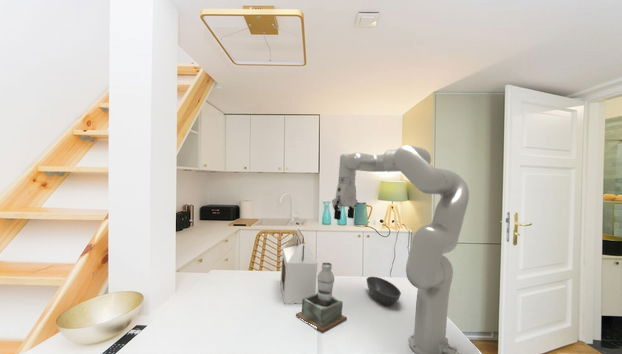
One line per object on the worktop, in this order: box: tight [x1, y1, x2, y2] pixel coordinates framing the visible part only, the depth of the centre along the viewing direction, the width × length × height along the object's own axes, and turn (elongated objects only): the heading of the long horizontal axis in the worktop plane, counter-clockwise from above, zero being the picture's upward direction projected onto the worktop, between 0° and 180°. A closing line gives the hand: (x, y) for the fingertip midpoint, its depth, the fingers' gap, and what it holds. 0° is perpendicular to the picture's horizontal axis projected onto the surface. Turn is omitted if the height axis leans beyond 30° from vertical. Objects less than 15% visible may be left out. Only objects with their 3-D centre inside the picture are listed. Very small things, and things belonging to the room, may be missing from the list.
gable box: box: [280, 229, 319, 305], centre depth 124 cm, size 22×13×28 cm, turn 11°
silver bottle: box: [316, 262, 335, 308], centre depth 103 cm, size 6×7×20 cm
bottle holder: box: [295, 292, 348, 334], centre depth 103 cm, size 14×14×7 cm
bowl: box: [366, 276, 402, 308], centre depth 123 cm, size 12×22×6 cm, turn 14°
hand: (344, 218), depth 121 cm, fingers open, 9 cm apart
